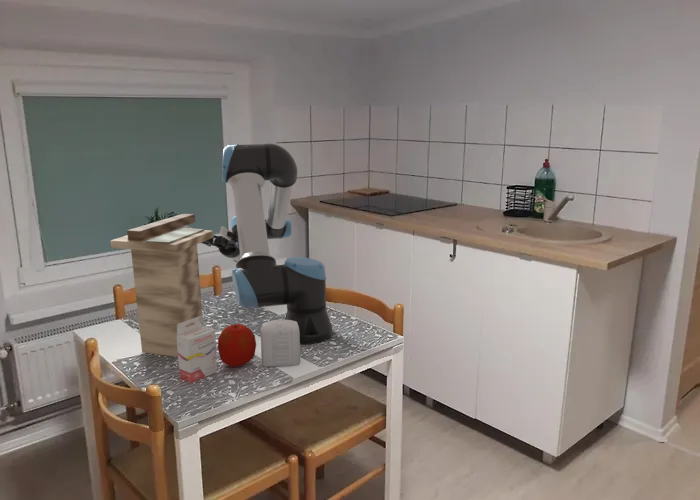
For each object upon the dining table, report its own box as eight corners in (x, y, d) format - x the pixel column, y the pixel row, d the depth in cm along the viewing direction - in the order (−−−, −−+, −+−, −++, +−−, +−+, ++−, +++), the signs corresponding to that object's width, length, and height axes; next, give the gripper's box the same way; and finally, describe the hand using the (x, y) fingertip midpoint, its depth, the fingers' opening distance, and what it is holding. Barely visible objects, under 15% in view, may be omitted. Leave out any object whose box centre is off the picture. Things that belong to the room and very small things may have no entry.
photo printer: (300, 359, 153) (298, 316, 150) (301, 365, 149) (299, 321, 146) (261, 361, 151) (259, 318, 148) (261, 368, 147) (259, 324, 144)
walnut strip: (183, 221, 173) (183, 213, 172) (195, 222, 171) (194, 214, 171) (128, 239, 148) (127, 230, 148) (140, 240, 147) (139, 231, 147)
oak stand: (162, 332, 172) (152, 226, 164) (220, 339, 167) (212, 229, 159) (123, 356, 156) (110, 239, 148) (186, 365, 150) (176, 243, 142)
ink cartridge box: (192, 384, 139) (187, 328, 136) (179, 379, 142) (174, 324, 139) (218, 371, 146) (214, 318, 143) (205, 366, 149) (201, 314, 145)
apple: (244, 374, 144) (241, 332, 141) (210, 369, 147) (207, 327, 145) (263, 359, 153) (261, 319, 150) (232, 353, 157) (229, 314, 154)
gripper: (262, 260, 195) (234, 242, 175) (199, 256, 202) (166, 238, 182) (266, 240, 196) (239, 219, 177) (204, 236, 204) (171, 216, 184)
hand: (202, 229), depth 180 cm, fingers open, 13 cm apart
